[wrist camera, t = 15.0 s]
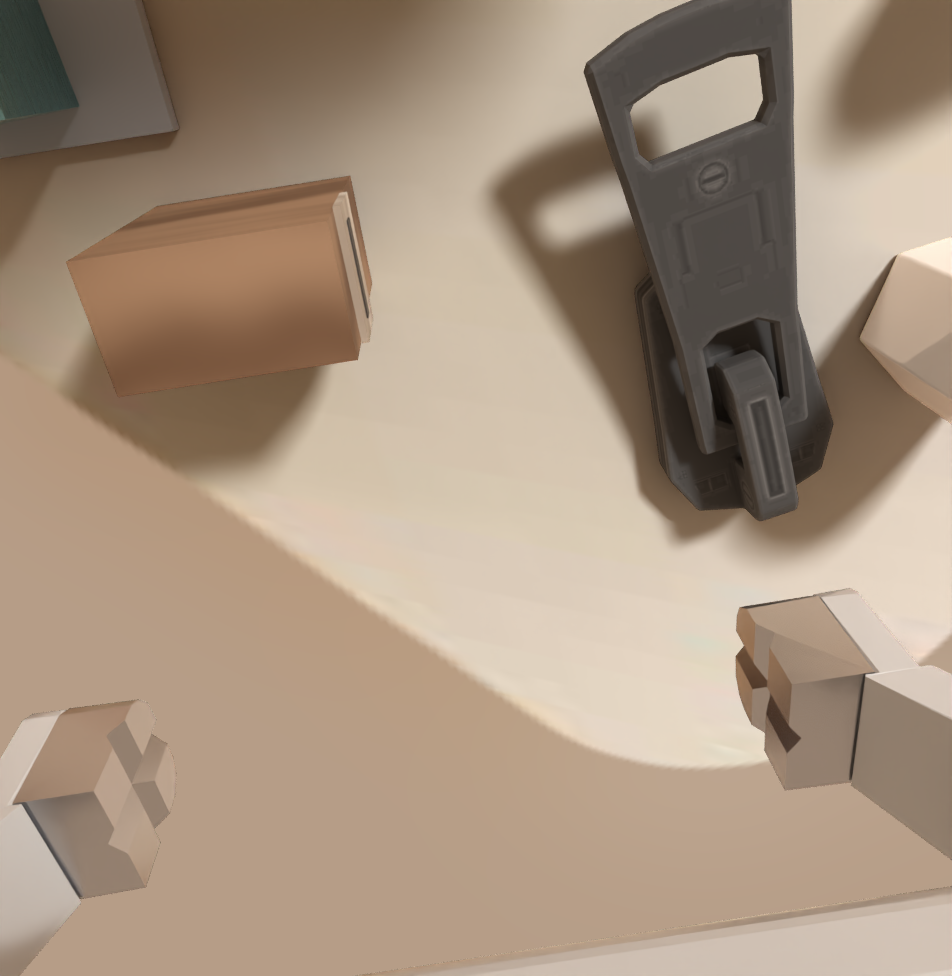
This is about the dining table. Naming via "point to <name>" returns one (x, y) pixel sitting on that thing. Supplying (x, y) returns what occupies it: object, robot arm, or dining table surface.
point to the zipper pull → (719, 263)
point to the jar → (917, 325)
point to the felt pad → (98, 79)
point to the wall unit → (229, 287)
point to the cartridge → (30, 64)
